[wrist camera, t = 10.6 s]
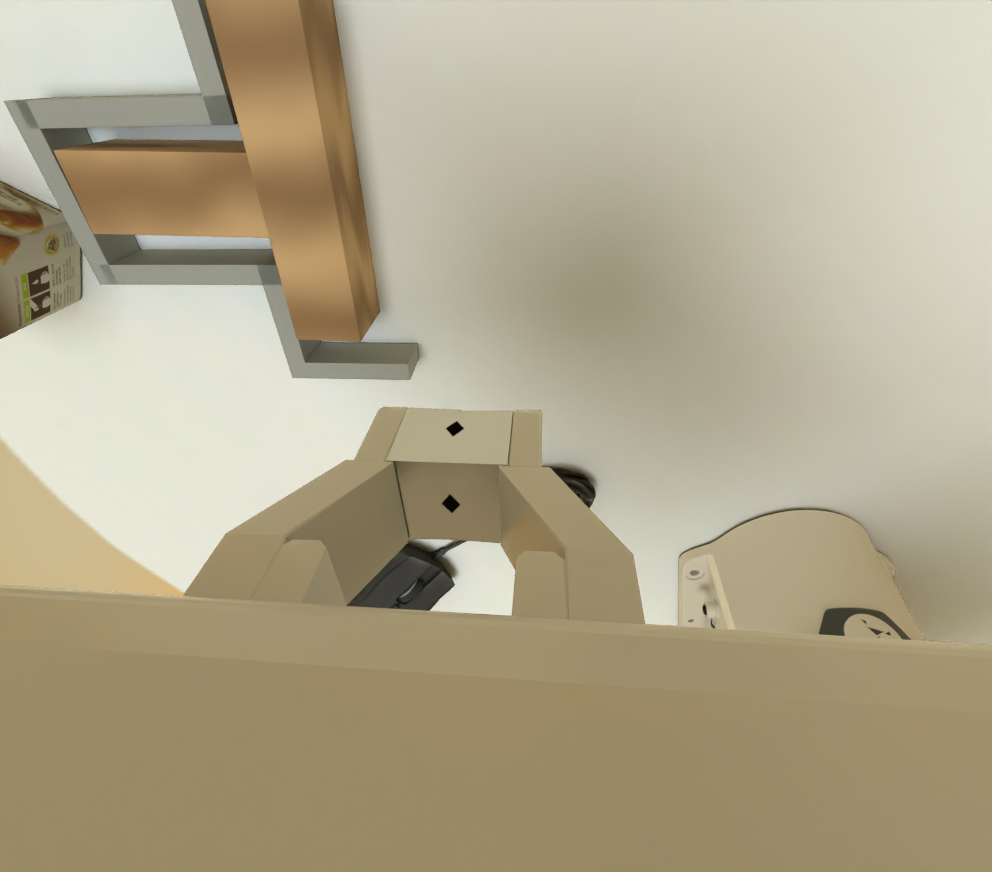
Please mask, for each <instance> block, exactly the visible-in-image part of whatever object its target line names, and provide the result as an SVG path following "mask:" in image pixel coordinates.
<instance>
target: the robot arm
mask: <svg viewBox="0 0 992 872" xmlns="http://www.w3.org/2000/svg"><path fill="white" fill-rule="evenodd" d="M541 464H542V412H541V410H531V411H514V412H513V411H462V410H451V409H430V408H407V407H383V408H381V409H379V410H378V412H377V414H376V416H375V418H374V420H373V422H372V424H371V426H370V428H369V431H368V433H367V435H366V437H365V439H364V441H363V443H362V445H361V447H360V449H359V451H358V453H357V455H356V457H355V459H354V460H345V461H344V462H342V463H340V464H339V465H337V466H335V467H334V468H332V469H331V470H329V471H327V472H326V473H324V474H322V475H321V476H319V477H318V478H316V479H314V480H313V481H311V482H309V483H308V484H306V485H304V486H303V487H301V488H300V489H298V490H296V491H295V492H293V493H291V494H290V495H288V496H286V497H285V498H283V499H282V500H280V501H278V502H277V503H275V504H273V505H272V506H270V507H269V508H267V509H265V510H264V511H262V512H260V513H259V514H257V515H255V516H254V517H252V518H251V519H249V520H247V521H246V522H244V523H242V524H241V525H239V526H237V527H236V528H234V529H233V530H231V531H229V532H228V533H226V534H225V536H224V537H223V538H222V540H221V541H220V543H219V544H218V546H217V547H216V549H215V550H214V551H213V553H212V554H211V556H210V557H209V559H208V560H207V562H206V563H205V564H204V566H203V567H202V569H201V570H200V572H199V573H198V575H197V576H196V577H195V579H194V580H193V582H192V583H191V585H190V586H189V588H188V589H187V590H186V592H185V593H184V595H183V596H174V595H157V594H141V593H140V594H139V593H124V592H107V591H91V590H74V589H58V588H40V587H24V586H8V585H0V872H992V645H985V644H969V643H952V642H936V641H924V639H923V637H922V635H921V633H920V631H919V629H918V627H917V625H916V623H915V621H914V620H913V618H912V616H911V614H910V612H909V610H908V608H907V606H906V604H905V603H904V601H903V599H902V597H901V595H900V593H899V592H898V590H897V588H896V586H895V584H894V582H893V580H892V579H891V578H892V577H893V576H894V575H895V573H896V571H895V568H894V566H893V564H892V563H891V561H890V560H889V559H888V558H887V557H886V556H884V555H883V554H881V553H879V552H878V551H876V550H875V549H874V547H873V545H872V542H871V540H870V537H869V535H868V533H867V532H866V530H865V529H864V528H863V527H862V526H861V525H860V524H858V523H857V522H856V521H854V520H852V519H850V518H848V517H846V516H843V515H840V514H837V513H832V512H827V511H819V510H795V511H786V512H780V513H775V514H771V515H767V516H763V517H760V518H757V519H754V520H752V521H749V522H747V523H744V524H742V525H740V526H738V527H736V528H735V529H733V530H731V531H730V532H728V533H727V534H725V535H724V536H722V537H721V538H719V539H718V540H716V541H714V542H712V543H710V544H707V545H704V546H701V547H698V548H695V549H692V550H689V551H687V552H685V553H684V554H682V555H681V556H680V558H679V616H678V626H670V625H654V624H645V620H644V614H643V608H642V603H641V597H640V591H639V586H638V580H637V574H636V568H635V563H634V557H633V554H632V553H631V552H630V551H629V550H628V549H627V548H626V547H625V545H624V544H623V543H622V542H621V541H620V540H619V539H618V538H617V537H616V536H615V535H614V534H613V533H612V532H611V531H610V530H609V529H608V528H607V527H606V526H605V525H604V524H603V523H602V521H601V520H600V519H599V518H598V517H597V516H596V515H595V514H594V513H593V512H592V511H591V510H590V509H589V508H588V507H587V506H586V505H585V504H584V503H583V502H582V501H581V500H580V499H579V497H578V496H577V495H576V494H575V493H574V492H573V491H572V490H571V489H570V488H569V487H568V486H567V485H566V484H565V483H564V482H563V481H562V480H561V479H560V478H559V477H558V476H557V475H556V473H555V472H554V471H553V470H552V469H551V468H549V467H541ZM409 539H449V540H466V541H480V542H493V543H501V546H502V548H503V549H504V551H505V553H506V555H507V556H508V558H509V560H510V562H511V563H512V565H513V567H514V569H515V582H514V595H513V607H512V616H506V615H489V614H473V613H456V612H440V611H423V610H406V609H390V608H373V607H357V606H347V604H348V603H349V602H350V601H351V600H352V599H353V598H354V597H355V596H356V595H357V594H358V593H359V592H360V591H361V590H362V589H363V588H364V587H365V586H366V585H367V584H368V583H369V582H370V581H371V580H372V579H373V578H374V577H375V576H376V575H377V574H378V573H379V572H380V571H381V570H382V569H383V568H384V567H385V566H386V564H387V563H388V562H389V561H390V560H391V559H392V558H393V557H394V556H395V555H396V554H397V553H398V552H399V551H400V550H401V549H402V548H403V547H404V546H405V545H406V544H407V543H408V542H409Z"/></svg>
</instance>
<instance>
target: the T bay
mask: <svg viewBox="0 0 992 872" xmlns="http://www.w3.org/2000/svg"><path fill="white" fill-rule="evenodd" d="M172 2H173V6H174V9H175V12H176V15H177V18H178V21H179V24H180V27H181V31H182V34H183V37H184V40H185V43H186V46H187V49H188V53H189V56H190V59H191V62H192V65H193V68H194V71H195V74H196V78H197V81H198V84H199V87H200V90H201V93H202V94H171V95H132V96H94V97H56V98H39V99H25V100H11V101H4V103H5V105H6V106H7V108H8V110H9V112H10V114H11V116H12V118H13V120H14V122H15V124H16V125H17V127H18V129H19V131H20V133H21V135H22V137H23V139H24V141H25V143H26V144H27V146H28V148H29V150H30V152H31V154H32V156H33V158H34V160H35V162H36V163H37V165H38V167H39V169H40V171H41V173H42V175H43V177H44V179H45V181H46V182H47V184H48V186H49V188H50V190H51V192H52V194H53V196H54V198H55V200H56V201H57V203H58V205H59V207H60V209H61V211H62V213H63V215H64V217H65V219H66V220H67V222H68V224H69V226H70V228H71V230H72V232H73V234H74V236H75V238H76V239H77V241H78V243H79V245H80V247H81V249H82V251H83V253H84V255H85V257H86V258H87V260H88V262H89V264H90V266H91V268H92V270H93V272H94V274H95V276H96V277H97V279H98V281H99V283H100V284H134V285H263V287H264V290H265V293H266V296H267V299H268V303H269V306H270V309H271V312H272V315H273V318H274V321H275V324H276V328H277V331H278V334H279V337H280V340H281V343H282V346H283V349H284V353H285V356H286V359H287V362H288V365H289V368H290V371H291V374H292V378H329V379H387V380H410V379H411V376H412V374H413V372H414V369H415V367H416V364H417V362H418V359H419V356H418V349H417V343H337V342H321V341H320V340H300V339H296V335H295V331H294V328H293V324H292V320H291V317H290V313H289V309H288V305H287V302H286V298H285V294H284V291H283V287H282V283H281V279H280V276H279V272H278V268H277V265H276V261H275V257H274V253H273V250H141V249H140V247H139V245H138V243H137V240H136V238H135V236H134V235H129V234H93V232H92V230H91V228H90V226H89V224H88V222H87V220H86V217H85V215H84V213H83V211H82V209H81V207H80V205H79V203H78V201H77V199H76V197H75V194H74V192H73V190H72V188H71V186H70V184H69V182H68V180H67V178H66V176H65V174H64V171H63V169H62V167H61V165H60V163H59V161H58V159H57V157H56V155H55V153H54V151H53V150H57V149H63V148H69V147H74V146H80V145H86V144H91V143H92V142H91V139H90V137H89V135H88V133H87V131H86V128H90V127H137V126H184V125H231V124H238V120H237V116H236V112H235V109H234V105H233V101H232V98H231V94H230V90H229V87H228V83H227V79H226V75H225V72H224V68H223V64H222V61H221V57H220V53H219V49H218V46H217V42H216V38H215V35H214V31H213V27H212V23H211V20H210V16H209V12H208V9H207V5H206V1H205V0H172Z"/></svg>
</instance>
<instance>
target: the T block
mask: <svg viewBox="0 0 992 872" xmlns="http://www.w3.org/2000/svg"><path fill="white" fill-rule="evenodd" d="M205 1H206V5H207V9H208V12H209V16H210V20H211V23H212V27H213V31H214V35H215V38H216V42H217V46H218V49H219V53H220V57H221V61H222V64H223V68H224V72H225V75H226V79H227V83H228V87H229V90H230V94H231V98H232V101H233V105H234V109H235V112H236V116H237V120H238V124H239V127H240V131H241V135H242V138H243V141H216V140H134V139H114V140H108V141H103V142H97V143H91V144H86V145H80V146H74V147H69V148H63V149H57V150H53V151H54V153H55V155H56V157H57V159H58V161H59V163H60V165H61V167H62V169H63V171H64V174H65V176H66V178H67V180H68V182H69V184H70V186H71V188H72V190H73V192H74V194H75V197H76V199H77V201H78V203H79V205H80V207H81V209H82V211H83V213H84V215H85V217H86V220H87V222H88V224H89V226H90V228H91V230H92V232H93V234H129V235H171V236H213V237H256V238H269V239H270V242H271V246H272V250H273V253H274V257H275V261H276V265H277V268H278V272H279V276H280V279H281V283H282V287H283V291H284V294H285V298H286V302H287V305H288V309H289V313H290V317H291V320H292V324H293V328H294V331H295V335H296V339H300V340H328V341H356V342H361V340H362V339H363V337H364V335H365V334H366V332H367V331H368V329H369V328H370V326H371V325H372V323H373V322H374V320H375V318H376V317H377V315H378V314H379V312H380V310H379V304H378V297H377V291H376V284H375V277H374V271H373V264H372V257H371V251H370V244H369V237H368V231H367V224H366V218H365V211H364V204H363V198H362V191H361V184H360V178H359V171H358V165H357V158H356V151H355V145H354V138H353V131H352V125H351V118H350V112H349V105H348V98H347V92H346V85H345V78H344V72H343V65H342V59H341V52H340V45H339V39H338V32H337V25H336V19H335V12H334V6H333V0H205Z"/></svg>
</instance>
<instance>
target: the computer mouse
mask: <svg viewBox="0 0 992 872" xmlns="http://www.w3.org/2000/svg"><path fill="white" fill-rule="evenodd" d="M552 470H553V471H554V472H555V473H556V475H557V476H558V477H559V478H560V479H561V480H562V481H563V482H564V483H565V484H566V485H567V486H568V487H569V488H570V489H571V490H572V491H573V492H574V493H575V494H576V495H577V496H578V497H579V499H580V500H581V501H582V502H583V503H584V504H585V505H586V506H587V507H588V508H590V506H591V505H592V503H593V500H594V498H595V495H596V492H595V489H594V488H593V487H592V486H591V485H590V483H589V481H588V479H587V478H586V477H585V476H584V475H582V474H579V473H573V472H571V471H568V470H564V469H556V468H552ZM464 542H466V540H459V541H457V542H455V543H453V544H451V545H449V546H448V547H446V548H441V549H439V550H437V551H435V552H434V553H427V551H425V550H423V549H421V548H418V547H415V546H413V545H410V544H406V545H405V546H404V547H403V548H402V549H401V550H400V551H399V552H398V553H397V554H396V555H395V556H394V557H393V558H392V559H391V560H390V561H389V562H388V563H387V564H386V566H385V567H384V568H383V569H382V570H381V571H380V572H379V573H378V574H377V575H376V576H375V577H374V578H373V579H372V580H371V581H370V582H369V583H368V584H367V585H366V586H365V587H364V588H363V589H362V590H361V591H360V592H359V593H358V594H357V595H356V596H355V597H354V598H353V599H352V600H351V601H350V602H349V603H348V604H347V606H357V607H373V608H390V609H406V610H423V611H429V610H430V609H431V608H432V607H433V606H434V605H435V604H436V603H437V602H438V600H439V599H440V598H441V597H442V596H443V595H445V594H446V593H447V592H448V591H449V590H450V589H451V588H452V587H454V585H455V584H454V582H453V580H452V578H451V576H450V574H449V573H448V572H447V570H446V569H445V568H444V567H443V565H442V564H441V563H440V562H439V561H438V558H439V557H441V556H442V555H444V554H445V553H446V552H447V551H448V550H450V549H452V548H454V547H456V546H458V545H460V544H462V543H464Z"/></svg>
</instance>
